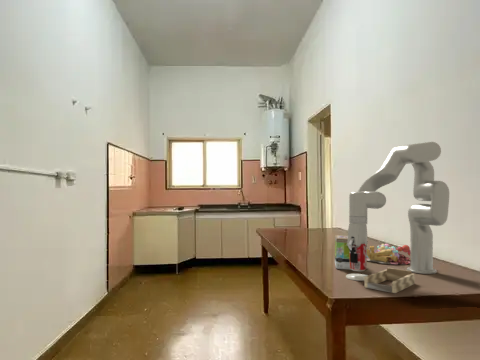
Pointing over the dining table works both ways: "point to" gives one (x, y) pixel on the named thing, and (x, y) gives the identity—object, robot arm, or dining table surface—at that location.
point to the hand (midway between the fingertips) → (358, 261)
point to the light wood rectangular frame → (398, 277)
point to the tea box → (342, 252)
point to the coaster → (356, 277)
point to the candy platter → (388, 254)
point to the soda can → (360, 259)
